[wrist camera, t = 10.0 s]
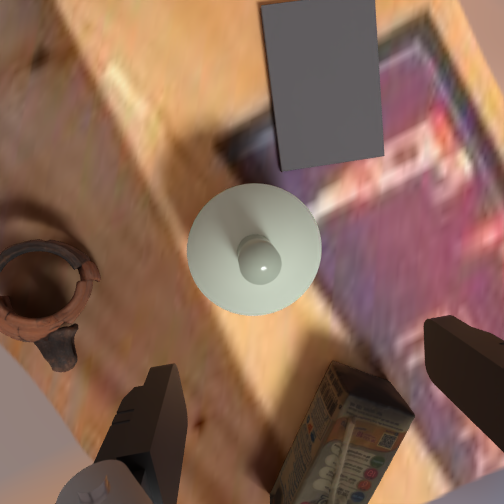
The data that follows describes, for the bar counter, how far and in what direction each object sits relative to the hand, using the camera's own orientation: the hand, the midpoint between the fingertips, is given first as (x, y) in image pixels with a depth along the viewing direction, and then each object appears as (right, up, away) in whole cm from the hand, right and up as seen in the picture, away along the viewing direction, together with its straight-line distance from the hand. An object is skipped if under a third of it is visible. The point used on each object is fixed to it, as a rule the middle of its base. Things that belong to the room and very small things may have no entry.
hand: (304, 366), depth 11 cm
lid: (-1, +4, +18) cm, 19 cm away
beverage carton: (+7, -18, +29) cm, 35 cm away
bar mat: (+5, +19, +21) cm, 29 cm away
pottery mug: (-21, -1, +23) cm, 31 cm away
